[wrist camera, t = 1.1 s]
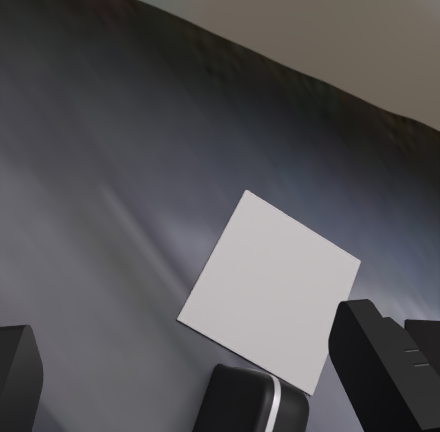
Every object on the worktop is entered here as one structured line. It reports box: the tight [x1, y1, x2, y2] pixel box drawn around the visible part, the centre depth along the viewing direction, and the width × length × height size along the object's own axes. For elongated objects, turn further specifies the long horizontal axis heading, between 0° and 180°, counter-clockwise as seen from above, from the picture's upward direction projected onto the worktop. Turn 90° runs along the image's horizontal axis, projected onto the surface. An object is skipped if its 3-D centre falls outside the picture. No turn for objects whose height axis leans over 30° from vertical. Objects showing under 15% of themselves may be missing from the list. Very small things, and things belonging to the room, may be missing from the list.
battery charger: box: [193, 364, 309, 432], centre depth 28 cm, size 7×4×11 cm, turn 159°
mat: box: [177, 190, 361, 396], centre depth 37 cm, size 14×14×1 cm
